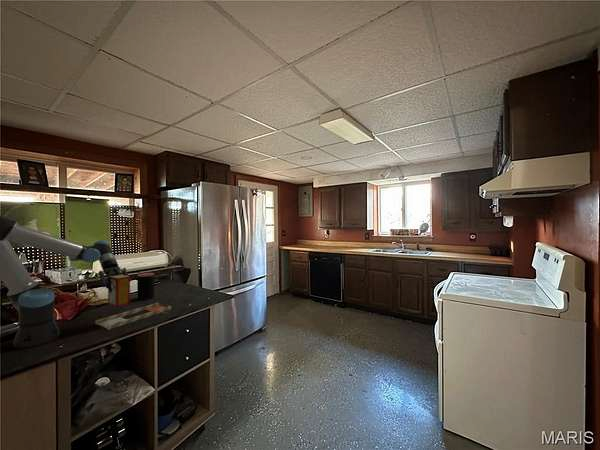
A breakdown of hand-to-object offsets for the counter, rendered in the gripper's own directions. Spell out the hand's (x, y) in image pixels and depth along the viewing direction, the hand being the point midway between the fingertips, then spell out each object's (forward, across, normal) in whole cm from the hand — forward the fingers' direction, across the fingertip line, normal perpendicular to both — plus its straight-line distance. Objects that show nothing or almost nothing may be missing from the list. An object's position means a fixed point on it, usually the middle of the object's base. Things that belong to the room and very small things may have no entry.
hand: (122, 293), depth 137 cm
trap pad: (+9, -22, -14) cm, 28 cm away
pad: (+9, +2, -14) cm, 17 cm away
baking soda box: (+2, 0, -7) cm, 7 cm away
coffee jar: (-13, -32, -36) cm, 49 cm away
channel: (+9, -9, -14) cm, 19 cm away
